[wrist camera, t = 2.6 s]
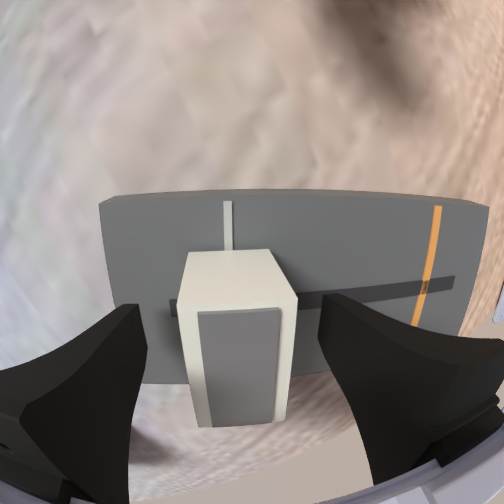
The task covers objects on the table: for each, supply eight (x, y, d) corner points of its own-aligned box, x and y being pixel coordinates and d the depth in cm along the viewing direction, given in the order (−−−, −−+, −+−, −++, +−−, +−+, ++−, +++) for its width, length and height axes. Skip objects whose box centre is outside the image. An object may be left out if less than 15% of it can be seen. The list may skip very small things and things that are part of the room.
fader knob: (269, 248, 11) (299, 301, 7) (265, 353, 12) (285, 423, 9) (188, 252, 10) (175, 308, 7) (199, 357, 12) (198, 431, 8)
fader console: (467, 200, 14) (490, 207, 12) (440, 323, 17) (457, 338, 15) (114, 196, 12) (97, 203, 10) (142, 359, 14) (136, 384, 12)
